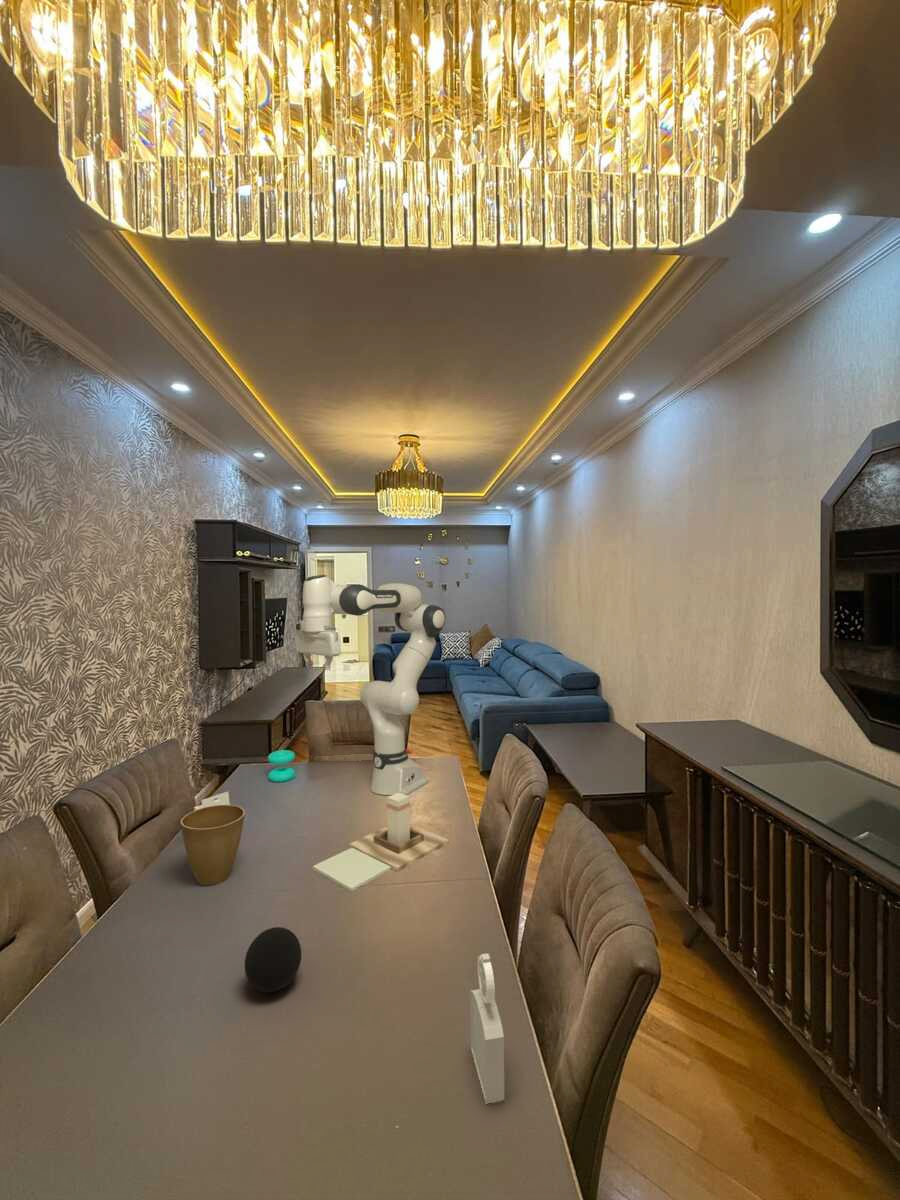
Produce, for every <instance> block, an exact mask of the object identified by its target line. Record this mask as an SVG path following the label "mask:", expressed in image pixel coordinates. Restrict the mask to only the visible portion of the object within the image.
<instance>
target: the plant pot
mask: <svg viewBox="0 0 900 1200" xmlns="http://www.w3.org/2000/svg"><path fill="white" fill-rule="evenodd" d="M245 812H246V810H245V809H244V808H243V807H241V806H238V805H232V804H230V805H215V806H209V807H205V808H201V809H198V810H195V811H194V810H193V811H191V812H189V813H187V814H185V816H183V817H182V818H181V820H180V826H181V827H180V828H181V833H182V839H183V843H184V848H185V851H186V855H187V859H188V862H189V864H190V867H191V871H192V873H193V875H194V876H195V879H196V881H197V883H198V884H200V885H202V886H214V885H218V884H220V883H222V882H224V881H226V880H227V879H228V878H229V876H230V874H231V871H232V869H233V865H234V862H235V860H236V857H237V854H238V853H237V852H238V850H239V845H240V841H241V837H242V832H243V826H244V820H245V814H246V813H245Z"/></svg>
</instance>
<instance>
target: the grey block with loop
mask: <svg viewBox="0 0 900 1200" xmlns="http://www.w3.org/2000/svg"><path fill="white" fill-rule="evenodd" d="M477 977H478V979H477V980H478V986H479V988H478V989H471V990H470V991H469V992H470V993H469V994H470V995H469V996H470V997H469V998H470V999H469V1001H470V1003H469V1004H470V1010H469V1011H470V1050H471V1055H472V1054H473V1055H472V1058H474V1059H473V1062H474V1066H475V1065H476V1066H475V1070H476V1069H477V1070H476V1073H478V1074H477V1077H478V1080H480V1081H479V1084H481V1085H480V1088H482V1089H481V1092H482V1095H484V1096H483V1099H485V1100H484V1103H485V1105H486V1104H488V1103H493V1104H495V1103H494V1102H496V1101H497V1102H498V1101H503V1100H504V1101H505V1035H504V1031H503V1025H502V1021H501V1017H500V1013H499V1009H498V1006H497V1003H496V1000H495V999H496V989H495V988H496V987H495V979H494V978H495V977H494V971H493V966H492V963H491V956H490V954H489V953H482V954H480V955H478V957H477ZM504 1101H503V1102H504ZM498 1103H499V1102H498ZM488 1105H489V1104H488Z"/></svg>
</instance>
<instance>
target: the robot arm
mask: <svg viewBox="0 0 900 1200" xmlns="http://www.w3.org/2000/svg"><path fill="white" fill-rule="evenodd" d="M302 585H303V587H302V605H303V613H302V614H303V615H302V620H300V621H298V622H297V623H294V625H293V626H294V628H293V630H294V631H295V633H294V646H295V647H294V648H295V650H296V652H297V653H301V654H303V655H302V656H303V659H304V662H305V667H306V668H313V667H314V661H312V658H311V656H312V655H315V656H324V660H325V661H324V663H323V664H322V669H323V670H324V671H330V670H331V664H332V661H333V660H334V659H333V658H334V657H339V656H340V655H341V653H342V647H341V646H342V645H341V638H340V635H339V632H338V629H337V628H336V627H335V626H332V614H333V615H334V614H335V615H351V616H357V617H358V616H363V615H365V614H366V613H368V612H370V611H372V610H374V609H376V610H377V609H378V610H379V611H380V612H384V613H386V614H387V613H388V614H394V622H395V625H396V627H397V628H398V629H399V630H401V631H404V632H411V633H410V637H409V640H408V641H407V642H406V644H405V645H404V646H403V648H402V649H401V651H400V653H399V654H398V655H397V656H396V657H397V658H395V660H394V661H393V664H392V669H393V670H392V671H393V672H394V674H395V675H394V678H393V679H392V680H391V681H385V680H384V681H383V680H372V681H368V682H366V683H364V685H363V686H362V688H361V689H360V695H359V696H360V701H361V703H362V704H363V705H364V707H365V709H366V710H367V712H368V714H369V718H370V720H371V724H372V728H373V739H374V740H373V741H374V743H373V744H374V745H373V747H374V749H373V753H372V754H373V755H372V756H373V772H372V779H371V784H370V785H371V786H370V791H371V792H373V793H374V794H377V795H383V796H384V795H385V796H391V795H394V794H396V793H401V794H404V795H409V794H411V793H412V792H414V791H415V790H417V789H419V788H420V787H423V785H426V783H428V782H429V778H428V777H427V776H425V775H423V771H422V767H421V765H420V764H419V763H417V762H416V761H414V760H413V759H412V758H410V757H409V755H413V753H414V749H413V748H410V747H408V748H407V747H405V745H406V744H405V740H406V739H405V738H406V737H405V728H404V725H403V724H402V723H401V721H400V720H399V719H398V717H397V716H406V715H411V714H412V715H413V713H415V711H416V710H417V708H418V707H419V704H420V696H419V692H418V690H417V684H418V681H419V679H420V677H421V675H422V673H423V672H424V670H425V668H426V666H427V665H428V664H429V661H430V659H431V658H432V656H433V653H434V650H435V648H436V644H437V641H436V639H435V638H436V637H437V636H439V635H440V633H441V631H442V630H443V628H444V626H445V624H446V620H447V619H446V614H445V613H446V612H445V610H444V609H443V608H442V607H441V606H439V605H435V604H425V603H422V592H421V591H420V589H419V588H418V587H416V585H415V586H414V585H412V584H406V583H401V582H400V583H399V582H398V583H397V582H395V583H393V582H391V583H385V584H381V585H380V586H378V588H377V589H371V588H369V587H367V586H365V585H363V584H358V583H357V584H351V585H350V584H347V585H346V584H344V585H343V584H339V583H336V582H335V581H333V580H332V579H331V578H330V577H329V576H328V575H326V574H318V575H313V576H312V575H311V576H309V577H307V578H305V580H304V582H303V584H302ZM408 754H409V755H408Z"/></svg>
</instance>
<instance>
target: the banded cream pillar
mask: <svg viewBox="0 0 900 1200" xmlns="http://www.w3.org/2000/svg"><path fill="white" fill-rule="evenodd" d="M410 806H411V800H410V796H409V795H408V794H401V793H396V794H394V795H388V796H387V797H386V809H387V810H386V812H387V813H386V814H387V815H386V817H387V818H386V819H387V820H386V822H387V824H386V825H387V830H388V841H389V842H391V843H393V844H395V845H398V846H399V845H401V844H403V843H405V842H406V841H408V840H410V824H411V817H410V816H411V815H410V814H411V813H410V811H411V810H410V809H411V807H410Z"/></svg>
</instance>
